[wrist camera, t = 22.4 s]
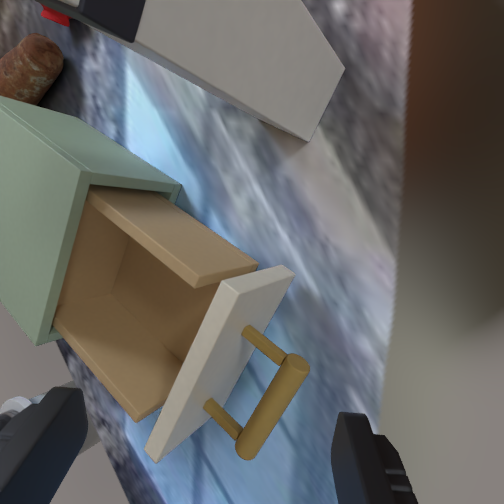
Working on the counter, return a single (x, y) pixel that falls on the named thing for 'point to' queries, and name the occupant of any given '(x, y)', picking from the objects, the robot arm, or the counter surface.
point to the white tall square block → (229, 51)
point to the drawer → (172, 318)
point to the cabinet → (52, 203)
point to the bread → (30, 69)
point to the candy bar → (55, 16)
